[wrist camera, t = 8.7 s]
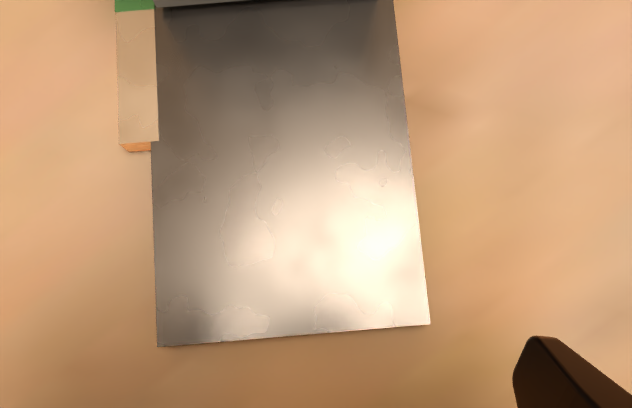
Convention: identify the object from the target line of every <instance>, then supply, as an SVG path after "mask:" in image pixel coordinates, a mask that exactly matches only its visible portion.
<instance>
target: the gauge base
mask: <svg viewBox="0 0 632 408" xmlns="http://www.w3.org/2000/svg"><path fill="white" fill-rule="evenodd" d="M115 12H116V40H117V85H118V129H119V145H121V146H122V147H123V148H124V149H126V150H127V151H128V152H135V151H147V150H151V170H152V200H153V231H154V262H155V292H156V323H157V347H165V346H177V345H189V344H200V343H212V342H224V341H236V340H248V339H260V338H272V337H284V336H295V335H307V334H319V333H331V332H343V331H355V330H367V329H379V328H390V327H402V326H414V325H426V324H431V323H430V315H429V306H428V297H427V289H426V280H425V272H424V263H423V254H422V246H421V237H420V228H419V220H418V211H417V203H416V194H415V185H414V177H413V168H412V159H411V151H410V142H409V134H408V125H407V116H406V108H405V99H404V90H403V82H402V73H401V65H400V56H399V47H398V39H397V30H396V21H395V13H394V4H393V0H243V1H231V2H219V3H208V4H196V5H184V6H172V7H160V8H157V7H156V5H155V4H154V2H153V0H115Z"/></svg>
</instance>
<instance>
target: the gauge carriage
mask: <svg viewBox="0 0 632 408" xmlns="http://www.w3.org/2000/svg"><path fill="white" fill-rule="evenodd" d="M231 1H243V0H153V2H154V4H155V5H156V7H157V8H160V7H172V6H184V5H196V4H208V3H219V2H231Z"/></svg>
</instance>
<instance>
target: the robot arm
mask: <svg viewBox="0 0 632 408" xmlns="http://www.w3.org/2000/svg"><path fill="white" fill-rule="evenodd" d="M512 381H513V388H514V393H515V397H516V402H517V406H518V408H632V395H631V394H629V393H628V392H627V391H625V390H624V389H623V388H622V387H620V386H619V385H618V384H616V383H615V382H614V381H612V380H611V379H610V378H608V377H607V376H606V375H605V374H603V373H602V372H601V371H599V370H598V369H597V368H595V367H594V366H593V365H591V364H590V363H589V362H587V361H586V360H585V359H584V358H582V357H581V356H580V355H578V354H577V353H576V352H574V351H573V350H572V349H570V348H569V347H568V346H567V345H565V344H564V343H563V342H561V341H560V340H558V339H557V338H554V337H545V336H532V337H530V338H529V339H528V341H527V342H526V344H525V347H524V349H523V351H522V353H521V355H520V358H519V360H518V362H517V364H516V366H515V369H514V372H513V378H512Z"/></svg>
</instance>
